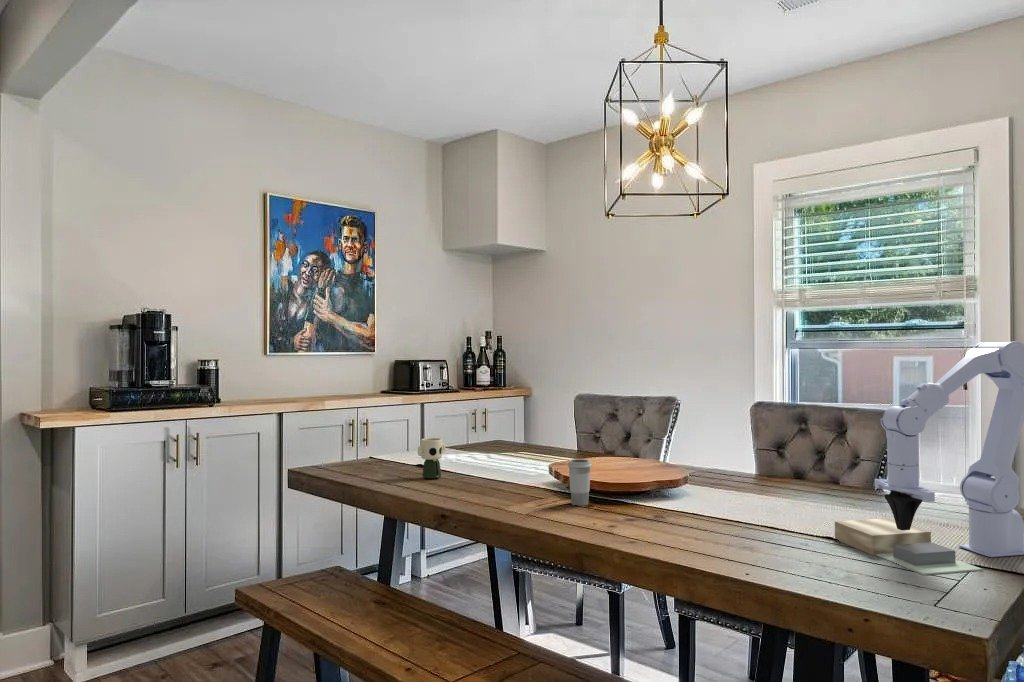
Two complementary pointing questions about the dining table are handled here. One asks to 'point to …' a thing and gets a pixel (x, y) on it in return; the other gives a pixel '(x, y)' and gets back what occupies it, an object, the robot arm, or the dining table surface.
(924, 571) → the mat
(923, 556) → the slate tile
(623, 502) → the dining table surface
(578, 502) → the cup
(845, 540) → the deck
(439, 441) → the character mug
